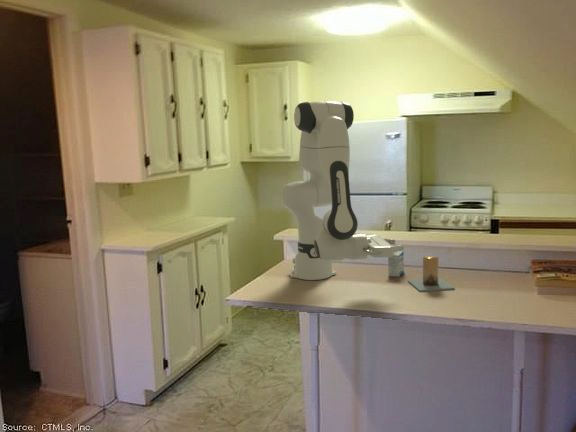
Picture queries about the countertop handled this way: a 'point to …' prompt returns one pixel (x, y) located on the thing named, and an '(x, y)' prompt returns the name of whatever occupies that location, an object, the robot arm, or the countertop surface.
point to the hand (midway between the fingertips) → (398, 244)
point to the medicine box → (396, 264)
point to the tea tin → (430, 270)
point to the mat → (421, 287)
